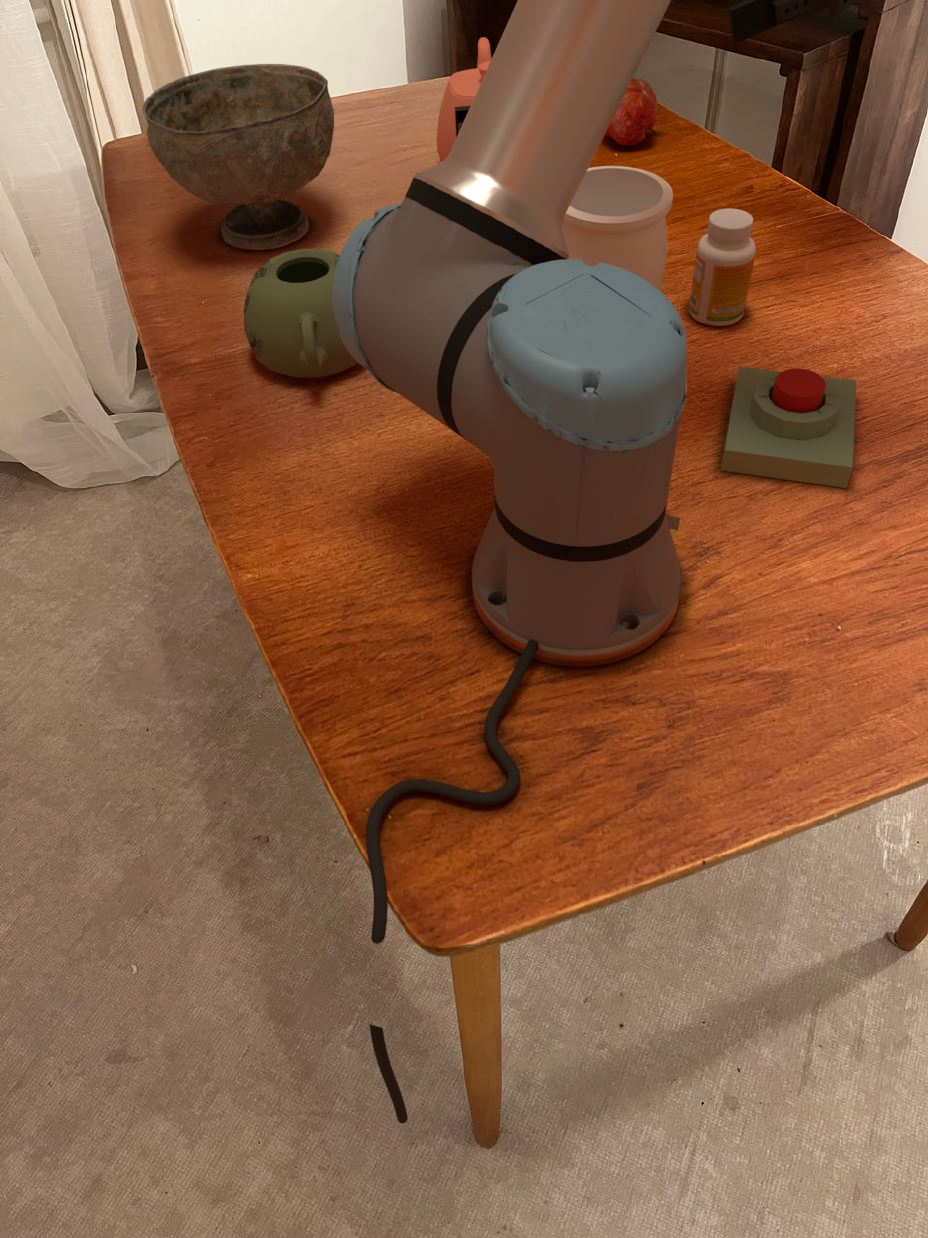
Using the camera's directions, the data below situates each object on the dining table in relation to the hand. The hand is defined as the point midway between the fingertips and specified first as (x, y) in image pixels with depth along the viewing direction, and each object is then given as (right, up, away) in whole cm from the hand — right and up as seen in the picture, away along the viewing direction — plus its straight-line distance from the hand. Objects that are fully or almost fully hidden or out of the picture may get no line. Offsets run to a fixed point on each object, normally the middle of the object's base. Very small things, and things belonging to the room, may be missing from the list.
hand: (704, 1), depth 88 cm
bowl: (-45, -10, +25) cm, 52 cm away
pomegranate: (-1, +5, +36) cm, 37 cm away
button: (+6, -37, -7) cm, 38 cm away
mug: (-36, -30, +7) cm, 47 cm away
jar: (-8, -29, +6) cm, 31 cm away
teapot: (-18, 0, +33) cm, 37 cm away
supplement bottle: (+3, -25, +9) cm, 27 cm away
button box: (+6, -40, -4) cm, 40 cm away
